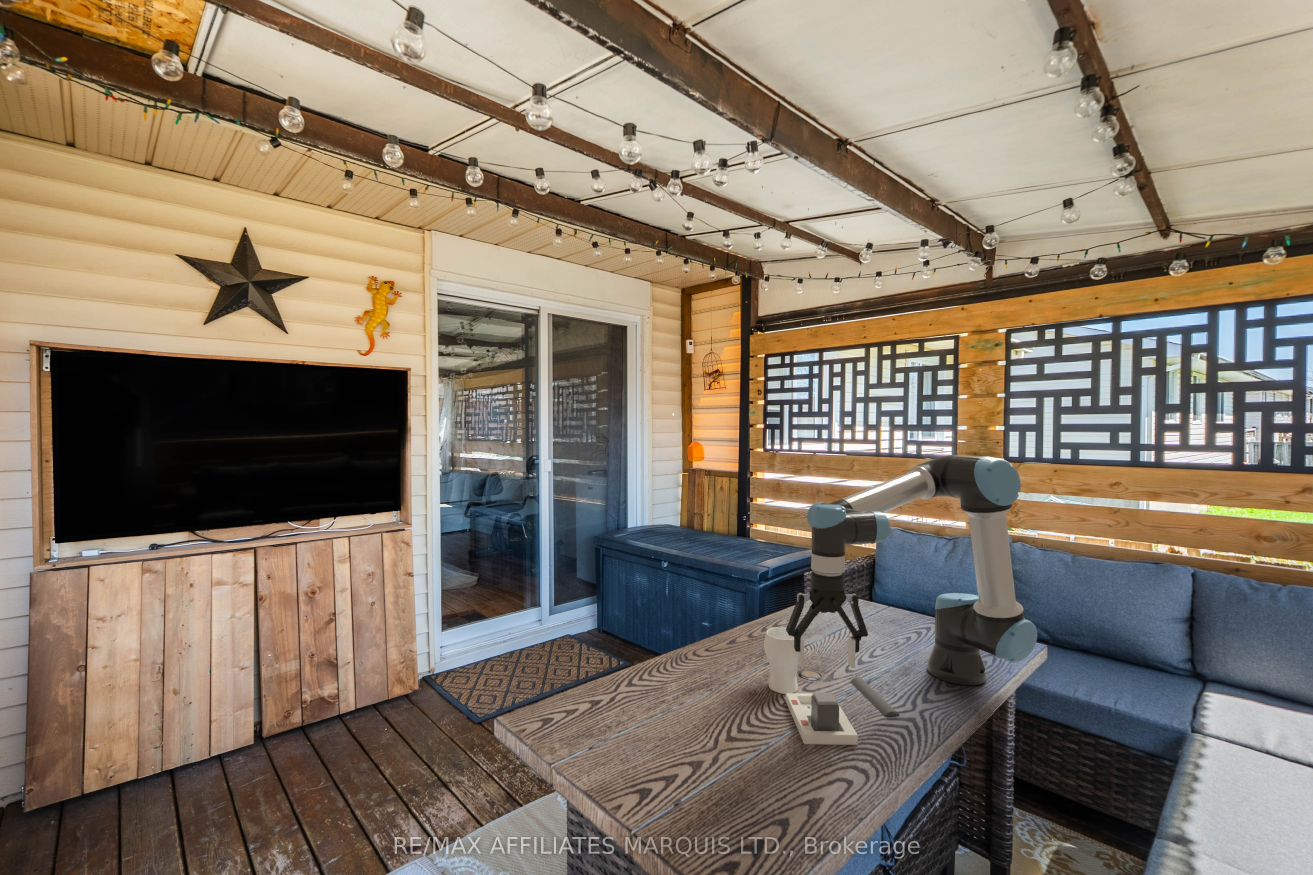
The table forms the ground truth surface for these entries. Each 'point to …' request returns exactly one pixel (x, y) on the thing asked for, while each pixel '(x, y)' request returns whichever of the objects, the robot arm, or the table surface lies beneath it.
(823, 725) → the plug
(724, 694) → the table surface
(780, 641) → the cup
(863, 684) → the gray half cylinder
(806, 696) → the socket plate
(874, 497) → the robot arm
